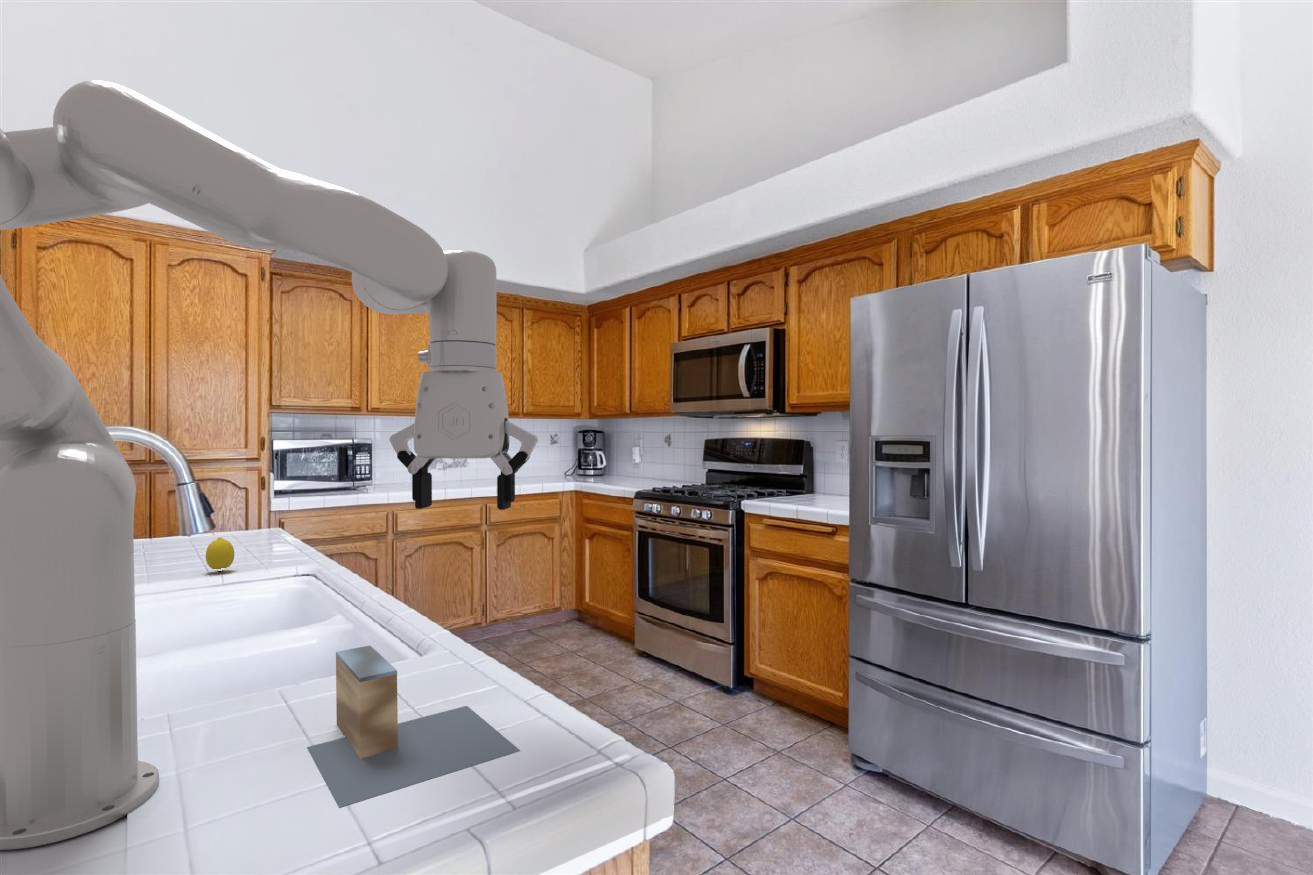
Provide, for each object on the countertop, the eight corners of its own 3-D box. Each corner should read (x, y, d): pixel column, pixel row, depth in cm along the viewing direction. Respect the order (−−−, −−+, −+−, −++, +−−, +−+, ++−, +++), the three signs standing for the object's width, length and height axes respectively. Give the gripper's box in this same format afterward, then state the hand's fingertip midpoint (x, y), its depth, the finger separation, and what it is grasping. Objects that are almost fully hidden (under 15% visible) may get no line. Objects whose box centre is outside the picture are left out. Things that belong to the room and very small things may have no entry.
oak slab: (360, 758, 68) (359, 678, 67) (336, 723, 76) (335, 651, 75) (397, 748, 70) (397, 670, 70) (370, 715, 78) (370, 645, 78)
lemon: (228, 569, 160) (227, 534, 160) (239, 571, 157) (238, 537, 157) (201, 573, 156) (201, 538, 155) (212, 576, 152) (211, 540, 152)
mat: (339, 811, 59) (339, 807, 59) (306, 750, 70) (306, 746, 70) (520, 754, 69) (520, 750, 69) (467, 708, 80) (467, 705, 80)
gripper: (376, 358, 77) (376, 511, 77) (528, 357, 75) (528, 512, 76) (405, 364, 84) (406, 503, 84) (544, 363, 83) (544, 505, 83)
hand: (463, 507), depth 80 cm, fingers open, 9 cm apart
